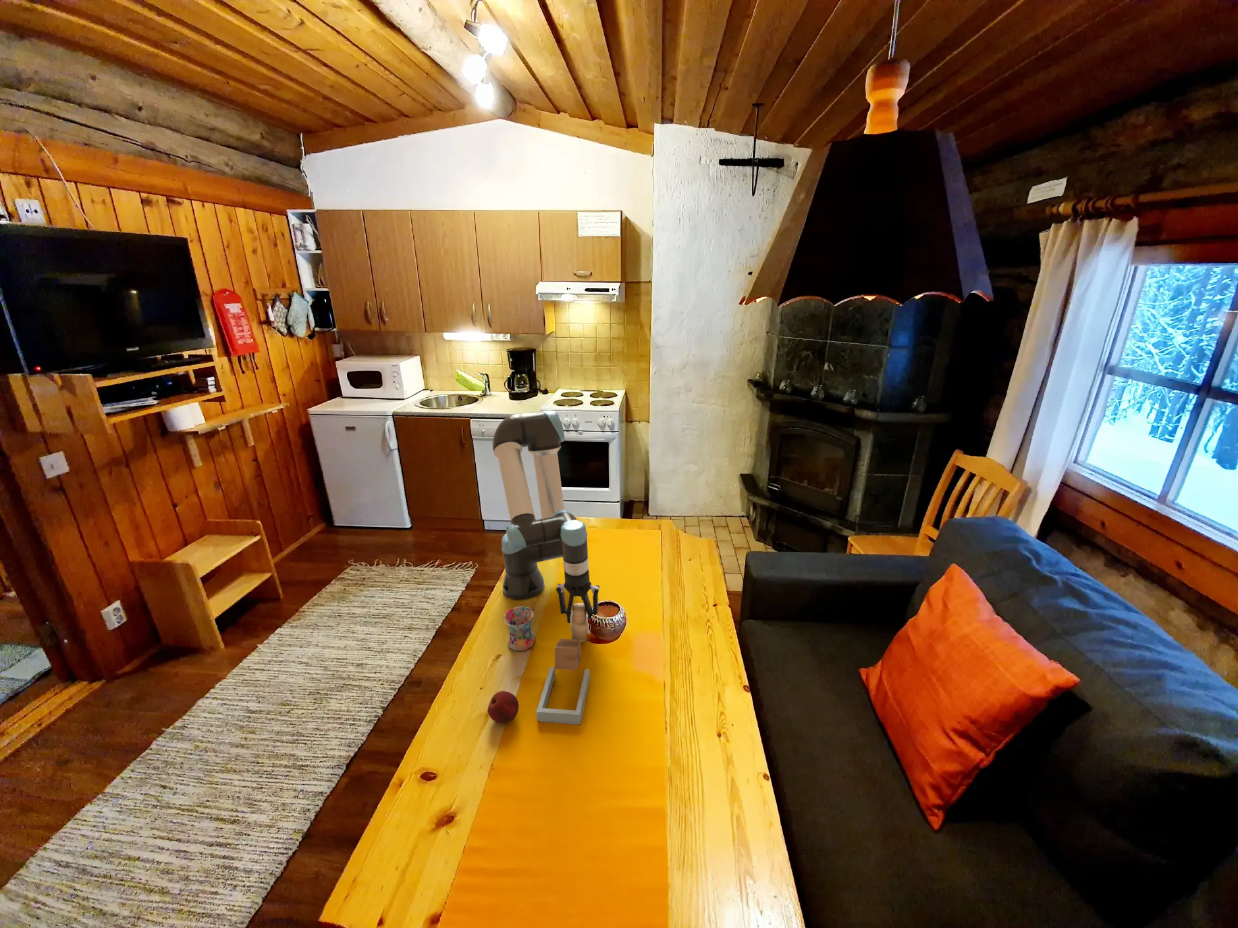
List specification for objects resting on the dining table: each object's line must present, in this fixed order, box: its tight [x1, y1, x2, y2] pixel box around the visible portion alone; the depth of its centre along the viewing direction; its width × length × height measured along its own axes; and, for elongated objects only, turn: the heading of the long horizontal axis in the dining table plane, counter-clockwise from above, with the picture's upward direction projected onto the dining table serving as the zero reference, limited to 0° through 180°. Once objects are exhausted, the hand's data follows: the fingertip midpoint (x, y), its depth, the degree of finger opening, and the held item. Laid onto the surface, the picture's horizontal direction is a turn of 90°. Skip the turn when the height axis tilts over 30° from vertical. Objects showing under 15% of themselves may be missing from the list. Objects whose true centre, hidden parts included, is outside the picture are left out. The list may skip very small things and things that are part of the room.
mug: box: [502, 605, 536, 652], centre depth 153 cm, size 12×9×11 cm
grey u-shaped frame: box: [535, 666, 591, 725], centre depth 132 cm, size 15×11×4 cm
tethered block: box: [554, 602, 587, 671], centre depth 144 cm, size 22×6×11 cm, turn 173°
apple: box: [487, 690, 520, 724], centre depth 127 cm, size 7×8×8 cm
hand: (580, 630), depth 156 cm, fingers closed on tethered block, 4 cm apart
